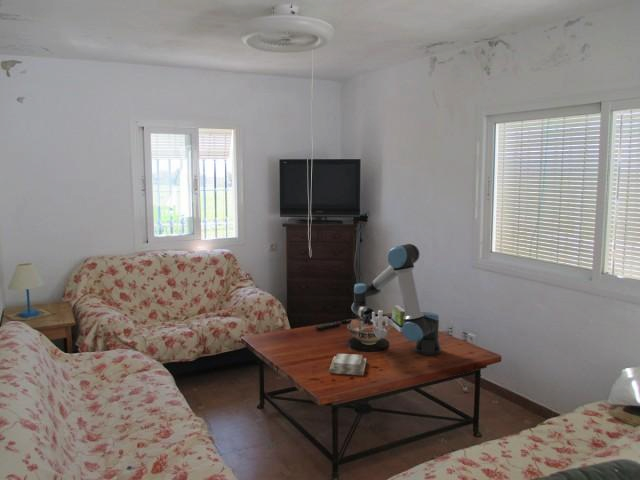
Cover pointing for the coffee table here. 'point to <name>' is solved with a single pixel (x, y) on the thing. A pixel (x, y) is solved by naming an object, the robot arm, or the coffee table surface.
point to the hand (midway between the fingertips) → (384, 324)
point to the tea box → (398, 317)
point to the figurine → (380, 324)
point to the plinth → (346, 370)
